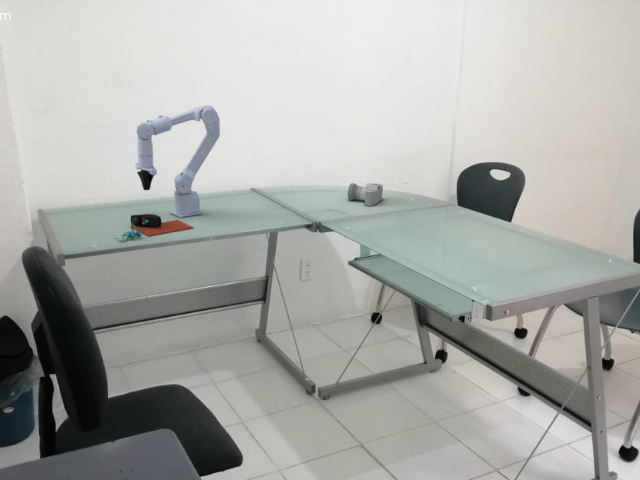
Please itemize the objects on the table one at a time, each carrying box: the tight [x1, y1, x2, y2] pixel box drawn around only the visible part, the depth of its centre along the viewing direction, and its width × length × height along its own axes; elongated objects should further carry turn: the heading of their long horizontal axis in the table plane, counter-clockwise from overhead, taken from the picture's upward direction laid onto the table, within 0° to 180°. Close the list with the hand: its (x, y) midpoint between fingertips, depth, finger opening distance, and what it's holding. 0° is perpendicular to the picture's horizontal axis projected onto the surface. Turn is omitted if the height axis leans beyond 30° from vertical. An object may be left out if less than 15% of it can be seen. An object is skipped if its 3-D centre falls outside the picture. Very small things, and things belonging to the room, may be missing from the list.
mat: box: [134, 219, 194, 237], centre depth 226 cm, size 18×12×1 cm, turn 128°
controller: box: [130, 213, 162, 227], centre depth 227 cm, size 4×12×10 cm
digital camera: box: [347, 182, 384, 207], centre depth 270 cm, size 17×14×10 cm
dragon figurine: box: [113, 222, 142, 243], centre depth 212 cm, size 7×7×8 cm
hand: (146, 189), depth 238 cm, fingers closed
